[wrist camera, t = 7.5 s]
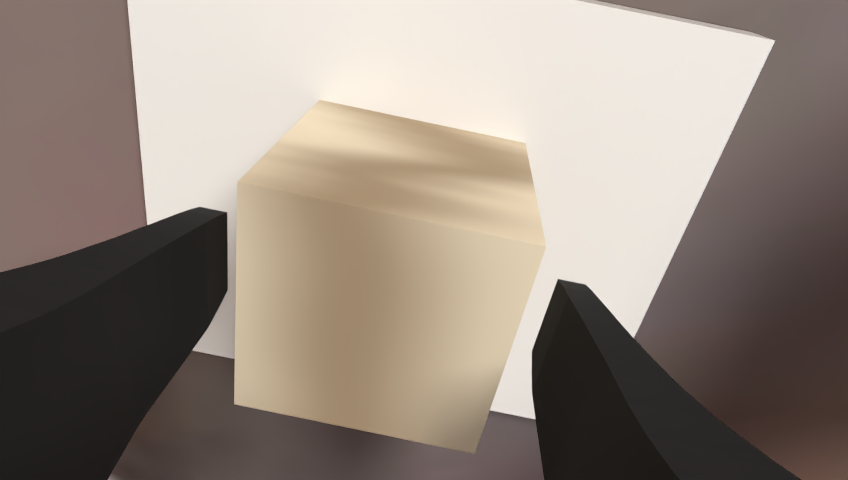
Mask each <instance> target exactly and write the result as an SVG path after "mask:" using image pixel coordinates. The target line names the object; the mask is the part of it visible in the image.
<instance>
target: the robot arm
mask: <svg viewBox="0 0 848 480" xmlns="http://www.w3.org/2000/svg"><path fill="white" fill-rule="evenodd" d="M227 291H228V235H227V212H223V211H218V210H213V209H208V208H203V207H197V208H193V209H190V210H187V211H184V212H181V213H178V214H175V215H173V216H170V217H167V218H165V219H162V220H160V221H157V222H155V223H152V224H149V225H147V226H144V227H142V228H139V229H136V230H134V231H131V232H129V233H126V234H123V235H121V236H118V237H115V238H113V239H110V240H107V241H104V242H101V243H98V244H95V245H92V246H89V247H86V248H83V249H80V250H78V251H75V252H72V253H69V254H66V255H63V256H59V257H56V258H53V259H49V260H46V261H42V262H39V263H35V264H32V265H28V266H24V267H20V268H16V269H12V270H8V271H4V272H0V480H108V478H109V476H110V474H111V472H112V470H113V469H114V467H115V465H116V463H117V462H118V460H119V458H120V457H121V455H122V453H123V451H124V450H125V448H126V446H127V444H128V443H129V441H130V439H131V437H132V436H133V434H134V432H135V431H136V429H137V427H138V426H139V424H140V423H141V421H142V420H143V418H144V417H145V415H146V413H147V412H148V410H149V409H150V407H151V406H152V405H153V403H154V402H155V401H156V399H157V398H158V397H159V395H160V394H161V392H162V391H163V390H164V388H165V387H166V386H167V384H168V383H169V381H170V380H171V379H172V377H173V376H174V375H175V373H176V372H177V370H178V369H179V368H180V366H181V365H182V364H183V362H184V361H185V360H186V358H187V357H188V355H189V354H190V353H191V351H192V350H193V348H194V347H195V346H196V344H197V343H198V341H199V340H200V339H201V337H202V336H203V334H204V333H205V332H206V330H207V329H208V327H209V325H210V324H211V322H212V320H213V318H214V316H215V314H216V312H217V311H218V309H219V307H220V305H221V303H222V301H223V299H224V297H225V295H226V293H227ZM532 396H533V404H534V411H535V418H536V425H537V432H538V439H539V446H540V452H541V459H542V466H543V473H544V479H545V480H801V479H800V478H798V477H796V476H795V475H794V474H792V473H791V472H789V471H788V470H786V469H785V468H783V467H782V466H780V465H779V464H777V463H776V462H774V461H773V460H772V459H770V458H769V457H767V456H766V455H765V454H763V453H762V452H761V451H759V450H758V449H757V448H755V447H754V446H753V445H751V444H750V443H749V442H747V441H746V440H744V439H743V438H742V437H740V436H739V435H738V434H736V433H735V432H734V431H733V430H731V429H730V428H729V427H727V426H726V425H725V424H724V423H722V422H721V421H720V420H719V419H717V418H716V417H715V416H714V415H713V414H712V413H710V412H709V411H708V410H707V409H706V408H705V407H703V406H702V405H701V404H700V403H699V402H698V401H696V400H695V399H694V398H693V397H692V396H691V395H690V394H688V393H687V392H686V391H685V390H684V389H683V388H682V387H681V386H680V385H679V384H678V383H677V382H676V381H675V380H674V379H673V378H672V377H671V376H669V375H668V374H667V373H666V372H665V371H664V370H663V369H662V368H661V367H660V366H659V365H658V364H657V363H656V362H655V361H654V360H653V358H652V357H651V356H650V355H649V354H648V353H647V352H646V351H645V350H644V349H643V348H642V347H641V346H640V345H639V344H638V342H637V341H636V340H635V339H634V338H633V337H632V336H631V335H630V334H629V332H628V331H627V330H626V329H625V328H624V327H623V326H622V324H621V323H620V322H619V321H618V320H617V319H616V318H615V316H614V315H613V314H612V313H611V312H610V311H609V309H608V308H607V307H606V306H605V305H604V304H603V303H602V301H601V300H600V299H599V298H598V297H597V296H596V295H595V293H594V292H593V291H592V290H591V289H590V288H589V287H588V286H587V285H585V284H581V283H576V282H571V281H566V280H561V279H558V280H557V283H556V285H555V288H554V291H553V294H552V297H551V299H550V302H549V305H548V308H547V310H546V313H545V316H544V319H543V322H542V324H541V327H540V330H539V333H538V335H537V338H536V341H535V344H534V347H533V349H532Z"/></svg>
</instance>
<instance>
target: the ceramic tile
mask: <svg viewBox="0 0 848 480" xmlns="http://www.w3.org/2000/svg"><path fill="white" fill-rule="evenodd" d="M127 1H128V12H129V24H130V35H131V46H132V57H133V69H134V80H135V91H136V103H137V114H138V125H139V136H140V148H141V159H142V170H143V182H144V193H145V204H146V215H147V225H149V224H152V223H155V222H157V221H160V220H162V219H165V218H167V217H170V216H173V215H175V214H178V213H181V212H184V211H187V210H190V209H193V208H197V207H203V208H208V209H213V210H218V211H223V212H227V235H228V291H227V293H226V295H225V297H224V299H223V301H222V303H221V305H220V307H219V309H218V311H217V312H216V314H215V316H214V318H213V320H212V322H211V324H210V325H209V327H208V329H207V330H206V332H205V333H204V334H203V336H202V337H201V339H200V340H199V341H198V343H197V344H196V346H195V347H194V348H193V350H192V351H197V352H202V353H207V354H212V355H217V356H222V357H227V358H232V359H235V307H236V235H237V182H238V181H239V180H240V179H241V178H242V177H243V176H244V175H245V174H246V173H247V172H248V171H249V170H250V169H251V168H252V167H253V166H254V165H255V164H256V163H257V162H258V161H259V160H260V159H261V158H262V157H263V156H264V155H265V154H266V153H267V152H268V151H269V150H270V149H271V148H272V147H273V146H274V145H275V144H276V143H277V142H278V141H279V140H280V139H281V138H282V137H283V136H284V135H285V134H286V133H287V132H288V131H289V130H290V129H291V128H292V127H293V126H294V125H295V124H296V123H297V122H298V121H299V120H300V119H301V118H302V117H303V116H304V115H305V114H306V113H307V112H308V111H309V110H310V109H311V108H312V107H313V106H314V105H315V104H316V103H317V102H318V101H319V100H323V101H328V102H333V103H338V104H342V105H347V106H352V107H357V108H361V109H366V110H371V111H376V112H380V113H385V114H390V115H395V116H399V117H404V118H409V119H414V120H418V121H423V122H428V123H433V124H437V125H442V126H447V127H452V128H456V129H461V130H466V131H471V132H475V133H480V134H485V135H490V136H494V137H499V138H504V139H509V140H513V141H518V142H523V143H525V144H526V149H527V154H528V159H529V164H530V168H531V173H532V178H533V183H534V188H535V193H536V198H537V203H538V208H539V213H540V218H541V223H542V227H543V232H544V237H545V242H546V249H545V252H544V255H543V258H542V261H541V264H540V266H539V269H538V272H537V275H536V278H535V281H534V284H533V287H532V290H531V293H530V295H529V298H528V301H527V304H526V307H525V310H524V313H523V316H522V319H521V321H520V324H519V327H518V330H517V333H516V336H515V339H514V342H513V345H512V348H511V350H510V353H509V356H508V359H507V362H506V365H505V368H504V371H503V374H502V376H501V379H500V382H499V385H498V388H497V391H496V394H495V397H494V400H493V403H492V405H491V408H490V410H491V411H496V412H501V413H506V414H511V415H516V416H521V417H526V418H531V419H536V418H535V411H534V404H533V396H532V349H533V347H534V344H535V341H536V338H537V335H538V333H539V330H540V327H541V324H542V322H543V319H544V316H545V313H546V310H547V308H548V305H549V302H550V299H551V297H552V294H553V291H554V288H555V285H556V283H557V280H558V279H561V280H566V281H571V282H576V283H581V284H585V285H587V286H588V287H589V288H590V289H591V290H592V291H593V292H594V293H595V295H596V296H597V297H598V298H599V299H600V300H601V301H602V303H603V304H604V305H605V306H606V307H607V308H608V309H609V311H610V312H611V313H612V314H613V315H614V316H615V318H616V319H617V320H618V321H619V322H620V323H621V324H622V326H623V327H624V328H625V329H626V330H627V331H628V332H629V334H630V335H631V336H632V337H633V338H634V336H635V334H636V332H637V330H638V328H639V326H640V324H641V322H642V320H643V317H644V315H645V313H646V311H647V309H648V307H649V305H650V303H651V301H652V299H653V296H654V294H655V292H656V290H657V288H658V286H659V284H660V282H661V280H662V277H663V275H664V273H665V271H666V269H667V267H668V265H669V263H670V261H671V259H672V256H673V254H674V252H675V250H676V248H677V246H678V244H679V242H680V240H681V237H682V235H683V233H684V231H685V229H686V227H687V225H688V223H689V221H690V219H691V216H692V214H693V212H694V210H695V208H696V206H697V204H698V202H699V200H700V197H701V195H702V193H703V191H704V189H705V187H706V185H707V183H708V181H709V179H710V176H711V174H712V172H713V170H714V168H715V166H716V164H717V162H718V160H719V157H720V155H721V153H722V151H723V149H724V147H725V145H726V143H727V141H728V139H729V136H730V134H731V132H732V130H733V128H734V126H735V124H736V122H737V120H738V117H739V115H740V113H741V111H742V109H743V107H744V105H745V103H746V101H747V99H748V96H749V94H750V92H751V90H752V88H753V86H754V84H755V82H756V80H757V77H758V75H759V73H760V71H761V69H762V67H763V65H764V63H765V61H766V59H767V56H768V54H769V52H770V50H771V48H772V46H773V44H774V42H775V40H772V39H769V38H766V37H763V36H761V35H758V34H755V33H752V32H748V31H743V30H738V29H734V28H729V27H724V26H719V25H714V24H709V23H704V22H699V21H694V20H689V19H684V18H679V17H674V16H669V15H665V14H660V13H655V12H650V11H645V10H640V9H635V8H630V7H625V6H620V5H615V4H610V3H605V2H601V1H596V0H127Z"/></svg>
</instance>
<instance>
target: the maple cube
mask: <svg viewBox="0 0 848 480" xmlns="http://www.w3.org/2000/svg"><path fill="white" fill-rule="evenodd" d="M545 249H546V242H545V237H544V232H543V227H542V223H541V218H540V213H539V208H538V203H537V198H536V193H535V188H534V183H533V178H532V173H531V168H530V164H529V159H528V154H527V149H526V144H525V143H523V142H518V141H513V140H509V139H504V138H499V137H494V136H490V135H485V134H480V133H475V132H471V131H466V130H461V129H456V128H452V127H447V126H442V125H437V124H433V123H428V122H423V121H418V120H414V119H409V118H404V117H399V116H395V115H390V114H385V113H380V112H376V111H371V110H366V109H361V108H357V107H352V106H347V105H342V104H338V103H333V102H328V101H323V100H319V101H318V102H317V103H316V104H315V105H314V106H313V107H312V108H311V109H310V110H309V111H308V112H307V113H306V114H305V115H304V116H303V117H302V118H301V119H300V120H299V121H298V122H297V123H296V124H295V125H294V126H293V127H292V128H291V129H290V130H289V131H288V132H287V133H286V134H285V135H284V136H283V137H282V138H281V139H280V140H279V141H278V142H277V143H276V144H275V145H274V146H273V147H272V148H271V149H270V150H269V151H268V152H267V153H266V154H265V155H264V156H263V157H262V158H261V159H260V160H259V161H258V162H257V163H256V164H255V165H254V166H253V167H252V168H251V169H250V170H249V171H248V172H247V173H246V174H245V175H244V176H243V177H242V178H241V179H240V180H239V181H238V182H237V235H236V307H235V379H234V404H236V405H241V406H246V407H250V408H255V409H260V410H265V411H270V412H275V413H279V414H284V415H289V416H294V417H299V418H304V419H309V420H313V421H318V422H323V423H328V424H333V425H338V426H342V427H347V428H352V429H357V430H362V431H367V432H372V433H376V434H381V435H386V436H391V437H396V438H401V439H405V440H410V441H415V442H420V443H425V444H430V445H435V446H439V447H444V448H449V449H454V450H459V451H464V452H468V453H473V454H475V452H476V449H477V446H478V443H479V440H480V437H481V434H482V431H483V429H484V426H485V423H486V420H487V417H488V414H489V411H490V408H491V405H492V403H493V400H494V397H495V394H496V391H497V388H498V385H499V382H500V379H501V376H502V374H503V371H504V368H505V365H506V362H507V359H508V356H509V353H510V350H511V348H512V345H513V342H514V339H515V336H516V333H517V330H518V327H519V324H520V321H521V319H522V316H523V313H524V310H525V307H526V304H527V301H528V298H529V295H530V293H531V290H532V287H533V284H534V281H535V278H536V275H537V272H538V269H539V266H540V264H541V261H542V258H543V255H544V252H545Z"/></svg>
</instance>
